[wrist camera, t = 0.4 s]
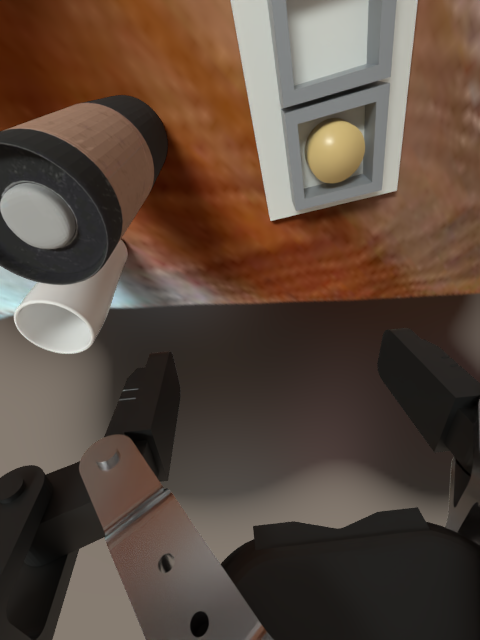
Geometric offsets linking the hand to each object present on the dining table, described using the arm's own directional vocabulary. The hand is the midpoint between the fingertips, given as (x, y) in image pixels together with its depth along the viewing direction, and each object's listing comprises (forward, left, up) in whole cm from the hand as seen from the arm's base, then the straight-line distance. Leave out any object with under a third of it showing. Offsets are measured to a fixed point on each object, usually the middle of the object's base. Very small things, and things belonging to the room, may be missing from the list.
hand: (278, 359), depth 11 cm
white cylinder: (-3, -20, -27) cm, 34 cm away
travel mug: (-9, -8, -27) cm, 30 cm away
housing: (-1, +9, -27) cm, 29 cm away
